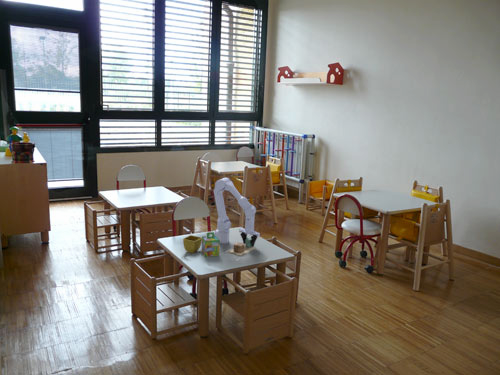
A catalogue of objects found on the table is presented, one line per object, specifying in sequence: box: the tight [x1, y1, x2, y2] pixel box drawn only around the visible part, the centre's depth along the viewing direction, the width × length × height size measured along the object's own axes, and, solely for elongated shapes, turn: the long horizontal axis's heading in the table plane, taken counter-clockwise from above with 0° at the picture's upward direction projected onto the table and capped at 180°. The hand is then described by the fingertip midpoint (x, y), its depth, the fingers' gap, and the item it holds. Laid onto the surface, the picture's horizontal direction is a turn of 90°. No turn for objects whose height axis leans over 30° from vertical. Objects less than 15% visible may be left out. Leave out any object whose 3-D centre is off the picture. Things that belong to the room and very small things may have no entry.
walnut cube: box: [232, 241, 245, 253], centre depth 266 cm, size 5×5×5 cm
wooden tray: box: [227, 236, 257, 257], centre depth 270 cm, size 10×19×6 cm, turn 149°
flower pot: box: [182, 234, 202, 254], centre depth 266 cm, size 9×9×9 cm
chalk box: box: [201, 231, 221, 258], centre depth 260 cm, size 9×9×15 cm
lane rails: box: [218, 247, 260, 262], centre depth 267 cm, size 14×26×2 cm, turn 149°
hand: (248, 244), depth 276 cm, fingers closed on wooden tray, 6 cm apart
